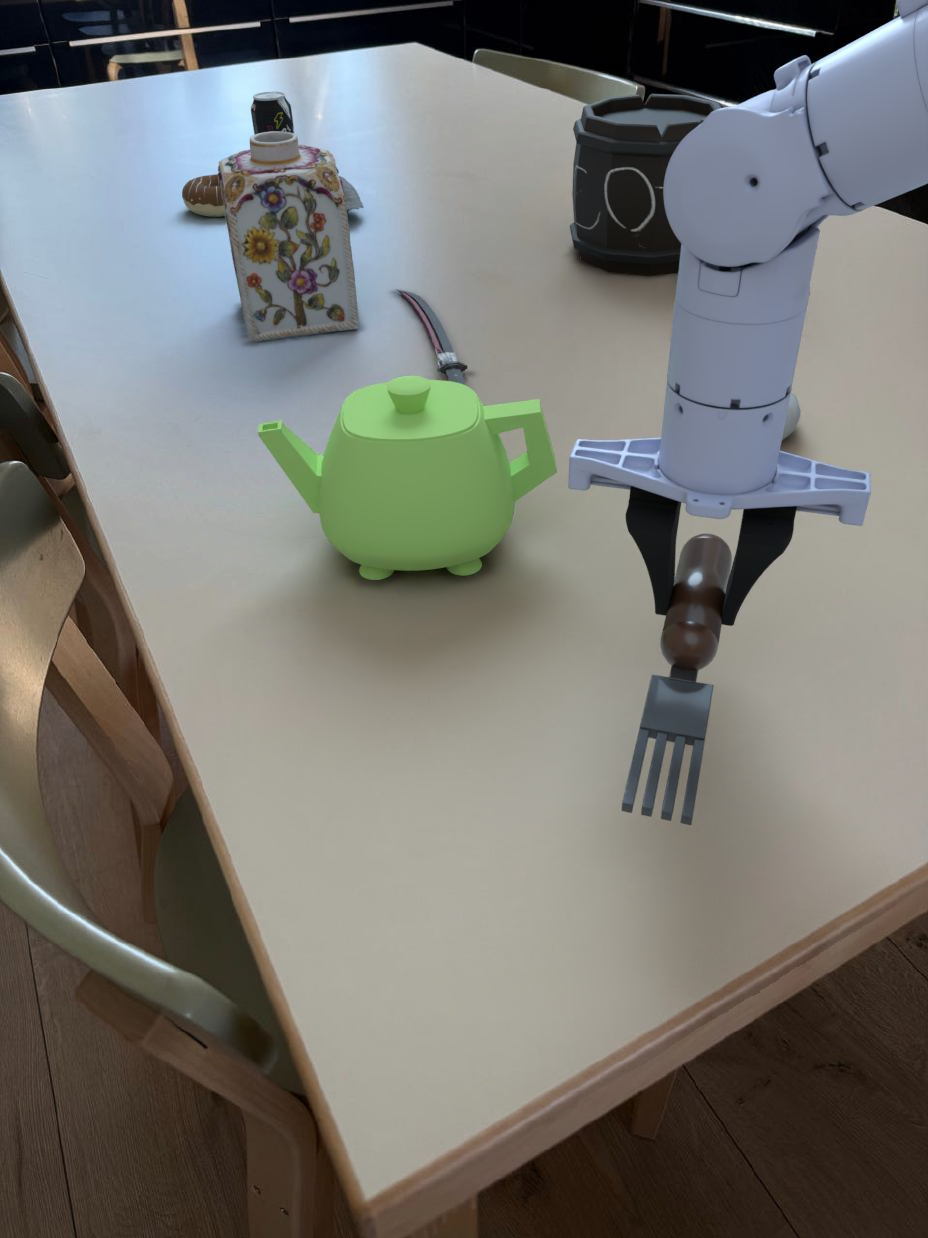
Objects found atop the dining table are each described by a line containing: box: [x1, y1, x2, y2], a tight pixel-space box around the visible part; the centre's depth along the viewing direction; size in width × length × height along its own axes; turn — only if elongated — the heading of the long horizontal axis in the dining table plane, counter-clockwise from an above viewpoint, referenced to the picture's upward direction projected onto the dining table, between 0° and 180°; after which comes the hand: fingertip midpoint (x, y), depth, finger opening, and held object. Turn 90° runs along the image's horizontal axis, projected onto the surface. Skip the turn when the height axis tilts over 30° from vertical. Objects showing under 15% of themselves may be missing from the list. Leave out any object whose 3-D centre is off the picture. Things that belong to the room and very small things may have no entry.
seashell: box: [338, 175, 364, 212], centre depth 132 cm, size 12×8×5 cm
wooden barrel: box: [569, 93, 723, 277], centre depth 113 cm, size 18×18×16 cm
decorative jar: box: [217, 131, 360, 343], centre depth 100 cm, size 12×12×18 cm
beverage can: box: [250, 91, 296, 135], centre depth 143 cm, size 6×6×12 cm
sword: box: [397, 289, 468, 386], centre depth 99 cm, size 31×3×1 cm, turn 13°
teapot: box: [257, 375, 558, 581], centre depth 68 cm, size 20×13×13 cm
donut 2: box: [181, 173, 225, 217], centre depth 136 cm, size 11×11×4 cm
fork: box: [621, 533, 733, 826], centre depth 52 cm, size 20×3×3 cm, turn 163°
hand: (695, 609), depth 55 cm, fingers closed on fork, 3 cm apart
